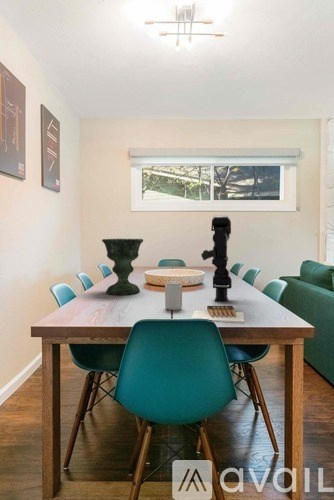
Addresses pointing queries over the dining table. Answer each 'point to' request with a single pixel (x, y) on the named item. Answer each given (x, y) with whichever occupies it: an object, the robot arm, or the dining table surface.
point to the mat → (219, 317)
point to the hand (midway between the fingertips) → (220, 278)
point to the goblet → (122, 263)
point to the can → (173, 295)
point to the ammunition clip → (221, 310)
